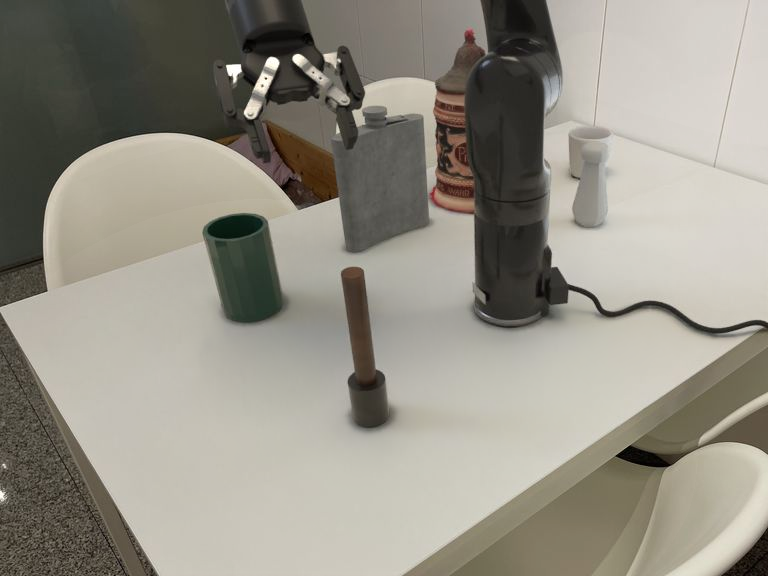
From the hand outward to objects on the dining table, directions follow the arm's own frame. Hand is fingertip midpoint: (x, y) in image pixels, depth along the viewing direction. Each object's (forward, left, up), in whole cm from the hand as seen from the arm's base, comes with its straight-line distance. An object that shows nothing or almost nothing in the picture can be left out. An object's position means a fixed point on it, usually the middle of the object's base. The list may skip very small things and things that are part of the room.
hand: (310, 152), depth 70 cm
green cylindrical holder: (+11, -15, -26) cm, 32 cm away
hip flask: (-9, -33, -26) cm, 43 cm away
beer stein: (-26, -46, -26) cm, 59 cm away
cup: (-48, -48, -26) cm, 72 cm away
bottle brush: (-3, +11, -26) cm, 28 cm away
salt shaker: (-42, -30, -26) cm, 58 cm away
